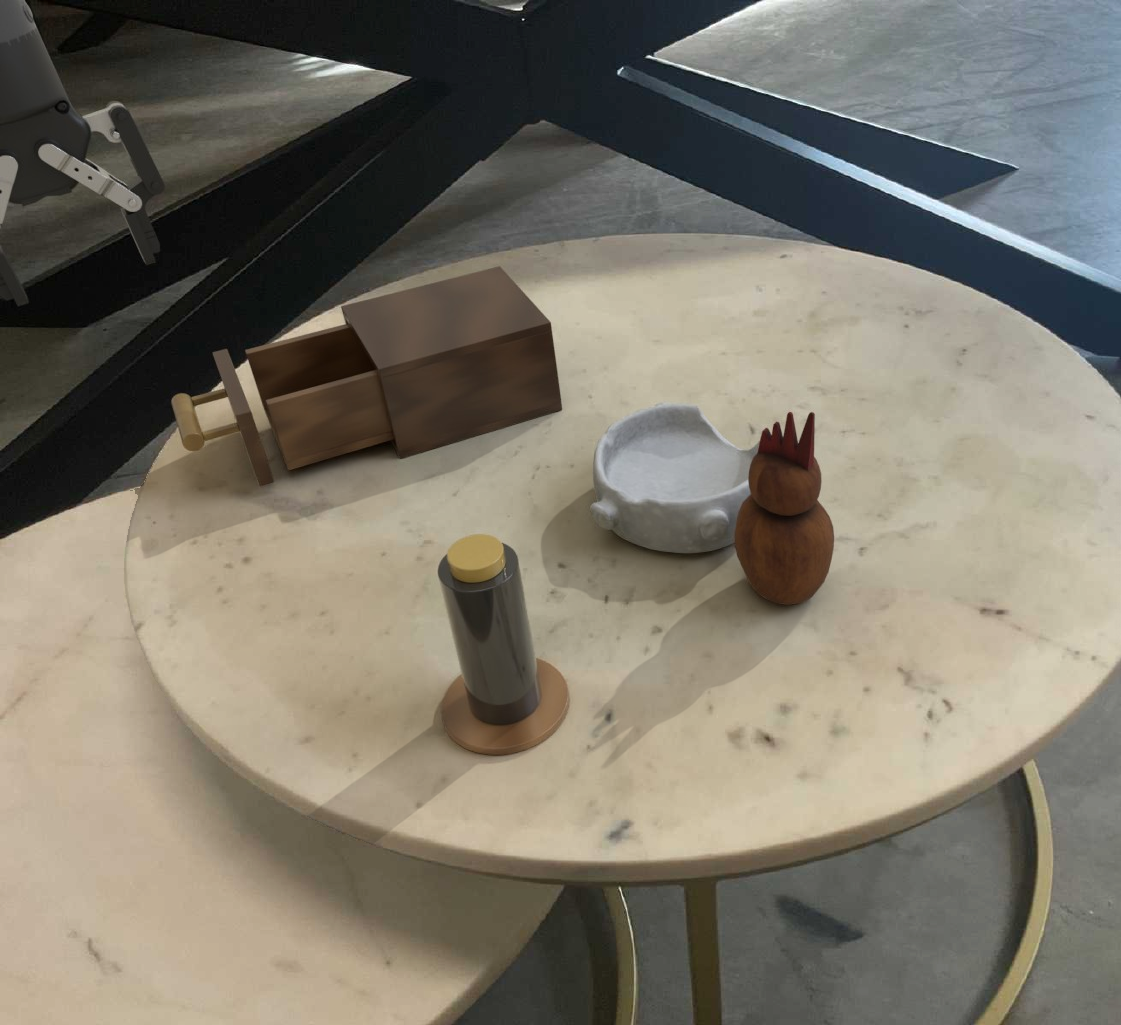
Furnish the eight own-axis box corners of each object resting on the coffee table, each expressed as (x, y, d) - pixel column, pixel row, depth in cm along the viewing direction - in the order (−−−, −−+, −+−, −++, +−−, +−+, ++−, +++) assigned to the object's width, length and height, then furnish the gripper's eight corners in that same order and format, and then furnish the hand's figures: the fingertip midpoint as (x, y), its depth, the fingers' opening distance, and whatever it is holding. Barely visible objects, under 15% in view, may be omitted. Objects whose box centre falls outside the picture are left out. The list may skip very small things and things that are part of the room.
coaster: (466, 774, 68) (464, 767, 67) (427, 688, 73) (425, 682, 73) (589, 724, 70) (588, 717, 70) (542, 645, 76) (541, 638, 76)
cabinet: (400, 459, 95) (378, 369, 89) (362, 391, 104) (340, 306, 98) (562, 410, 99) (551, 322, 94) (513, 349, 108) (500, 265, 103)
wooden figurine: (847, 595, 79) (857, 412, 69) (781, 630, 76) (782, 445, 67) (786, 546, 83) (788, 368, 74) (722, 578, 81) (716, 397, 72)
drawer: (204, 504, 89) (176, 431, 85) (184, 434, 98) (158, 365, 93) (423, 438, 95) (407, 368, 91) (387, 378, 103) (371, 311, 99)
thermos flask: (482, 736, 69) (448, 588, 62) (459, 687, 73) (424, 542, 65) (552, 708, 71) (527, 560, 63) (526, 662, 74) (499, 517, 67)
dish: (647, 437, 95) (643, 386, 92) (801, 476, 90) (802, 423, 87) (555, 537, 85) (546, 483, 82) (721, 587, 80) (719, 531, 77)
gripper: (82, 1, 75) (180, 235, 84) (-158, 57, 70) (-25, 299, 79) (97, 14, 69) (200, 263, 78) (-163, 76, 64) (-20, 333, 73)
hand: (87, 281), depth 79 cm, fingers open, 8 cm apart
